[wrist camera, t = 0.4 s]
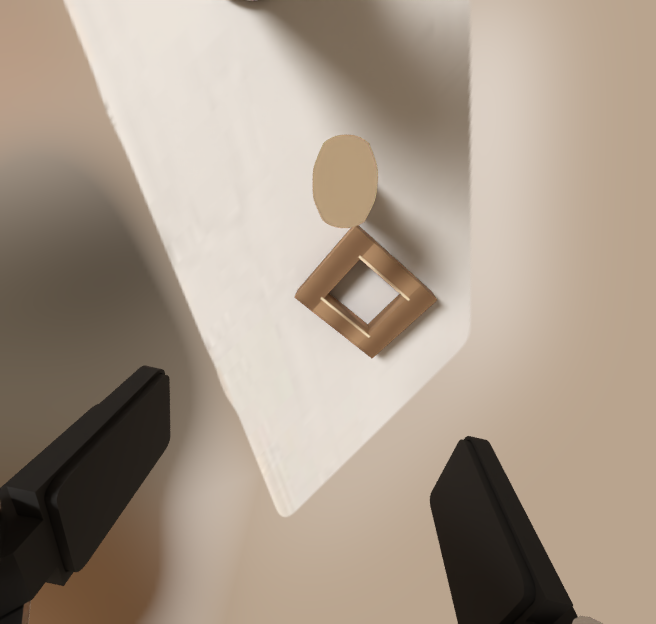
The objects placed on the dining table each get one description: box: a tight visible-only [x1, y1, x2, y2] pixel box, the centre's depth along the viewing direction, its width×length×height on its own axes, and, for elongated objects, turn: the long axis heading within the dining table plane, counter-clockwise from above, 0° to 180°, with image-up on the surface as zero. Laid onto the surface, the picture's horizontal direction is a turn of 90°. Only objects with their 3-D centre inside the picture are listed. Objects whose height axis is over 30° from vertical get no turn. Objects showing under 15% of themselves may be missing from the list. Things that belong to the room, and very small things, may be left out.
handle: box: [313, 135, 378, 228], centre depth 29 cm, size 5×6×15 cm
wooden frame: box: [295, 225, 437, 358], centre depth 40 cm, size 14×12×3 cm
